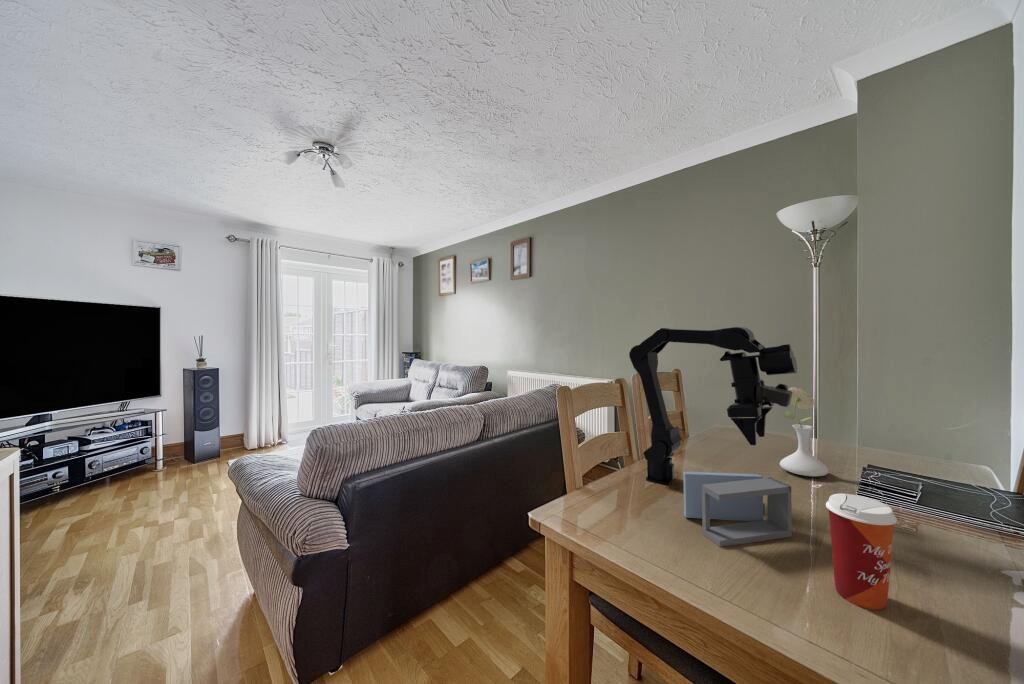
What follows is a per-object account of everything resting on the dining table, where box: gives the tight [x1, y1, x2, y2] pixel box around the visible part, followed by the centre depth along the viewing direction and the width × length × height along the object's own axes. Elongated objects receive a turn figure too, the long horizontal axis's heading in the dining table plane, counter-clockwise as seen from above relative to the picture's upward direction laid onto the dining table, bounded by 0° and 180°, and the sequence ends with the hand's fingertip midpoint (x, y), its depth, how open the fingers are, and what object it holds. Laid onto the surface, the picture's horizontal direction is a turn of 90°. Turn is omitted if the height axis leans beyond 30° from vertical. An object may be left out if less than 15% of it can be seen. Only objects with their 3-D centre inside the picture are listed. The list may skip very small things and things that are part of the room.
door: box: [682, 471, 766, 522], centre depth 84 cm, size 3×17×10 cm, turn 80°
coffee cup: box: [825, 493, 898, 611], centre depth 59 cm, size 8×8×15 cm
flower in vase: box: [779, 386, 830, 478], centre depth 111 cm, size 13×11×25 cm
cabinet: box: [701, 477, 793, 548], centre depth 77 cm, size 5×17×10 cm, turn 100°
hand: (757, 440), depth 91 cm, fingers open, 9 cm apart
